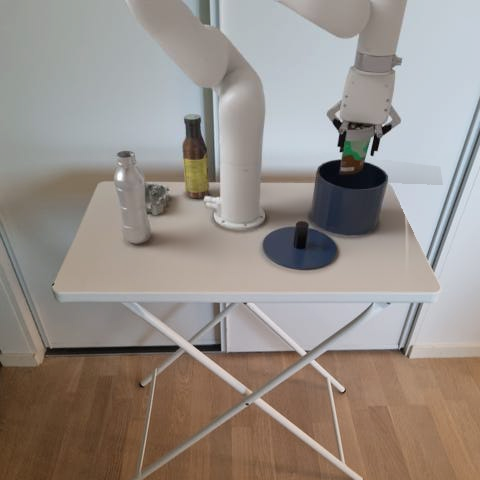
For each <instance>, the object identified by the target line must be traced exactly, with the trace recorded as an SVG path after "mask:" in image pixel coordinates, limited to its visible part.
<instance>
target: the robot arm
mask: <svg viewBox="0 0 480 480" xmlns="http://www.w3.org/2000/svg"><path fill="white" fill-rule="evenodd" d="M124 1H125V2H126V5H127V7H128V10H129V11H130V12H131V14H132V16H133V17H134V19H135V20H136V21H137V22H138V23H139V25H140V26H141V27H142V28H143V30H145V31H146V33H147V34H148V35H149V36H150V37H151V38H152V39H153V40H154V41H155V43H156V44H157V45H158V46H159V47H160V48H161V50H162V51H163V52H164V53H165V54H166V55H167V56H168V57H169V58H170V59H171V60H172V62H174V64H175V65H176V66H177V67H178V68H179V70H180V71H182V73H183V74H184V75H185V77H187V78H188V79H189V80H190V82H191V83H193V84H194V85H196V86H198V87H201V88H204V89H211V90H212V91H213V92H214V93H215V94H216V96H218V98H219V99H218V135H219V136H218V137H219V142H218V143H219V145H218V147H219V196H217V197H214V196H209V195H207V196H205V197H203V204H204V205H205V209H210V210H214V212H213V218H214V220H215V222H216V223H217V224H218V225H220V226H222V227H224V228H227V229H231V230H240V231H241V230H250V229H254V228H257V227H258V226H261V225H262V224H263V223H264V221H265V219H266V213H265V212H266V211H264V209H263V208H262V207H261V206H260V202H261V201H260V200H261V183H262V182H261V181H262V163H263V145H264V143H263V142H264V130H265V121H266V98H265V97H266V96H265V91H264V86H263V82H262V80H261V77H260V76H259V74H258V72H257V71H256V70H255V69H254V68H253V66H252V65H251V64H250V62H248V60H247V59H246V58H245V57H244V55H243V54H242V53H241V52H240V51H239V50H238V48H237V47H236V45H234V44H233V42H232V41H231V40H230V39H229V38H228V37H227V35H225V33H224V32H223V31H222V30H220V28H218V27H216V26H213V25H211V24H203V23H202V21H201V20H200V19H199V18H198V17H197V16H196V15H195V14H194V12H193V11H192V10H191V8H190V7H189V6H188V5H187V4H186V3H185V1H184V0H124ZM274 1H275V2H277V3H278V4H281V5H283V6H284V7H286V8H288V9H290V10H291V11H293V12H294V13H296V14H297V15H299V16H300V17H302V18H304V19H305V20H307V21H309V22H310V23H312V24H314V25H315V26H316V27H318V28H320V29H322V30H324V31H325V32H327V33H329V34H331V35H333V36H334V37H336V38H339V39H344V40H345V39H347V40H348V39H352V38H354V37H356V36H358V38H357V45H356V50H355V57H354V63H353V65H351V66H349V69H348V72H347V75H346V78H345V82H344V86H343V91H342V95H341V96H342V97H341V99H340V100H339V101H338V102H336V103H335V104H334V105H333V106H332V107H331V108H330V109H328V110H327V112H326V116H327V118H328V119H329V121H330V122H331V123H332V125H333V126H334V128H335V129H336V131H337V133H338V138H337V145H336V146H337V148H339V153H341V154H342V152H343V149H344V143H345V137H346V128H347V126H348V124H349V123H350V122H354V123H364V124H374V125H375V135H374V136H373V137H372V138H373V139H372V143H371V148H370V154H369V156H371V157H374V155H375V152H378V151H379V147H380V142H381V139H382V138H383V137H384V136H385V135H387V134H388V133H389V132H391V131H392V130H393V129H395V128H396V127H397V126H399V125H400V124H401V122H402V118H401V116H400V115H399V114H398V111H396V109H395V108H394V106H393V105H392V102H393V96H394V91H395V82H396V69H393V68H395V67H398V66H402V62H403V57H399V56H397V54H396V53H397V49H398V44H399V40H400V36H401V32H402V31H401V30H402V26H403V23H404V17H405V12H406V8H407V4H408V0H274ZM338 112H339V117H338V116H337V115H336V114H337V113H338ZM389 117H390V118H391V121H389V122H388V120H389ZM341 120H342V121H341Z"/></svg>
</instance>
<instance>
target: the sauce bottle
mask: <svg viewBox="0 0 480 480" xmlns="http://www.w3.org/2000/svg"><path fill="white" fill-rule="evenodd" d="M183 122H184V126H185V137H184V139H183V142H182V147H181V148H182V149H181V150H182V163H183V164H182V165H183V174H184V187H185V188H184V189H185V192H186V195H187V196H188V197H189V198H191V199H201V198H203V199H204V197H205V196H209V191H210V190H209V189H210V179H209V177H210V176H209V161H208V160H209V159H208V148H207V145H206V142H205V139H204V137H203V134H202V126H201V124H202V116H201V115H200V114H196V113H189V114H186V115H184V117H183Z"/></svg>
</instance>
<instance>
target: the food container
mask: <svg viewBox="0 0 480 480" xmlns="http://www.w3.org/2000/svg"><path fill="white" fill-rule="evenodd" d="M375 133H376V129H375V125H374V124H364V123H354V122H350V123H349V124H348V126H347V128H346V137H345V143H344V149H343V152H342V153H341V168H340V174H354V173H358V172H360V171H361V170H362V169H363V165H364V162H366V158H367V154H368V150H369V147H370V143H371V140H372V138H374V135H375Z"/></svg>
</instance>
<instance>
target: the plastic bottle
mask: <svg viewBox="0 0 480 480" xmlns="http://www.w3.org/2000/svg"><path fill="white" fill-rule="evenodd" d="M116 164H117V165H118V167H117V168H116V170H115V172H114V174H113V183H114V187H115V190H116V193H117V196H118V200H119V201H118V202H119V205H120V210H121V212H120V213H121V233H122V236H123V238H124V239H125V241H127V242H128V243H131V244H142V243H146V242H147V241H149V239H150V238H151V235H152V226H151V223H150V220H149V216H148V212H147V211H146V204H145V183H146V177H145V174H144V172H143V171H142V170H141V169H140V168H139V166H137V159H136V154H135V152H134V151H131V150H120V151H118V152H116Z"/></svg>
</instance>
